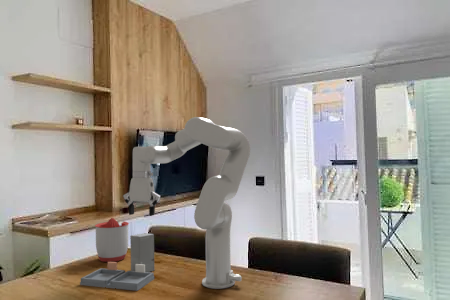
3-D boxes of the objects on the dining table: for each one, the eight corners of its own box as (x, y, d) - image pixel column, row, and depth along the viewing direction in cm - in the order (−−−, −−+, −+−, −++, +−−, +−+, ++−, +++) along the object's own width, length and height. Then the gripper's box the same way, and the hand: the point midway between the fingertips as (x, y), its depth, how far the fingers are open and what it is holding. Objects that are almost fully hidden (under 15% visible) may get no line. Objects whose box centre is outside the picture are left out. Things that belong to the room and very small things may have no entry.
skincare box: (140, 275, 146) (139, 237, 146) (129, 272, 150) (129, 235, 150) (155, 270, 152) (155, 233, 153) (144, 267, 157) (144, 231, 157)
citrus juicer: (135, 254, 179) (134, 214, 180) (121, 264, 162) (121, 220, 162) (105, 253, 181) (105, 214, 181) (89, 263, 163) (88, 220, 164)
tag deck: (154, 278, 141) (154, 265, 141) (137, 290, 129) (137, 275, 129) (100, 274, 148) (100, 260, 148) (79, 284, 136) (79, 270, 136)
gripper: (163, 175, 153) (163, 214, 153) (128, 174, 158) (128, 212, 158) (155, 175, 146) (155, 217, 146) (119, 175, 151) (119, 215, 151)
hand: (141, 214), depth 152 cm, fingers open, 9 cm apart
